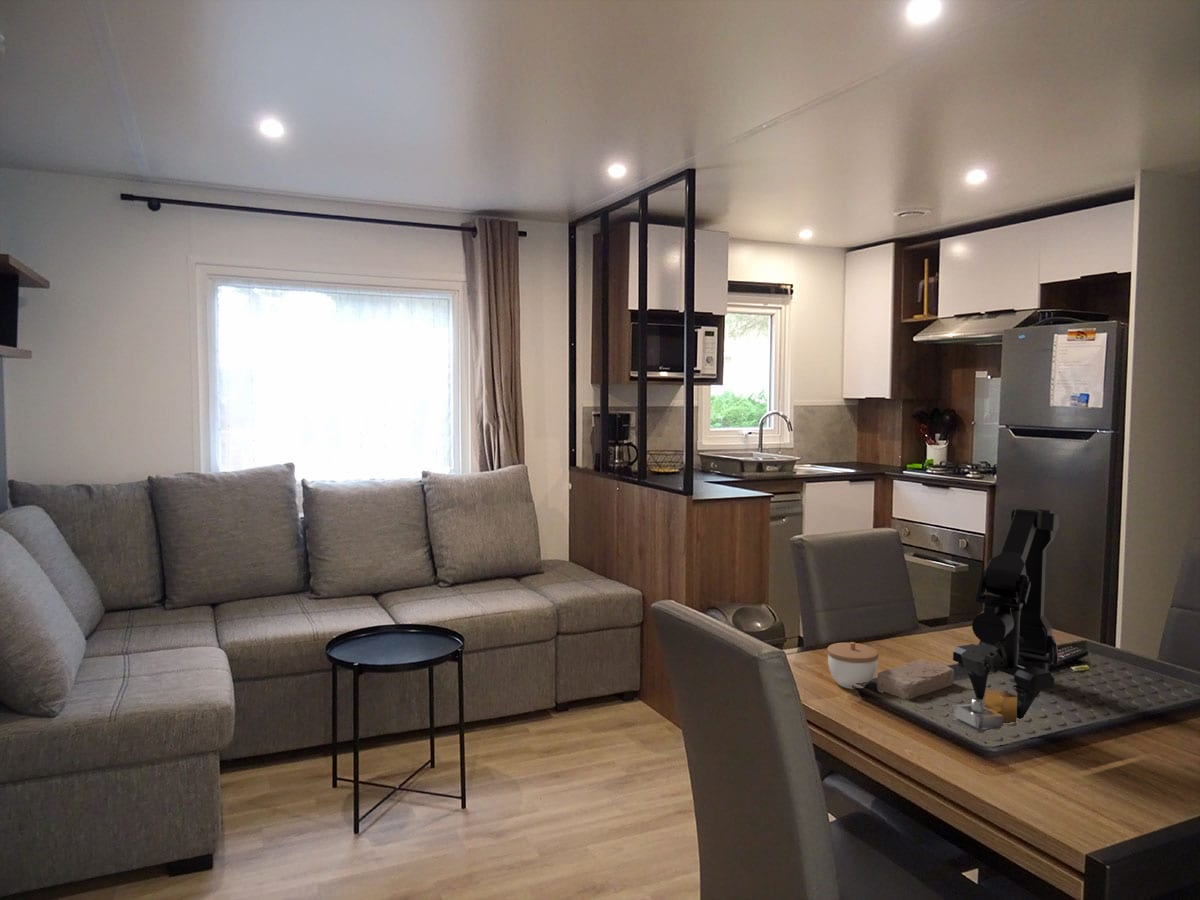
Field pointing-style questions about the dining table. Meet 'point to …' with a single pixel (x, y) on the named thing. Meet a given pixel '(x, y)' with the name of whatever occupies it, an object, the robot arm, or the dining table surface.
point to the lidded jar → (852, 663)
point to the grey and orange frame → (990, 710)
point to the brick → (915, 678)
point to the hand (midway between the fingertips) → (999, 709)
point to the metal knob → (977, 709)
